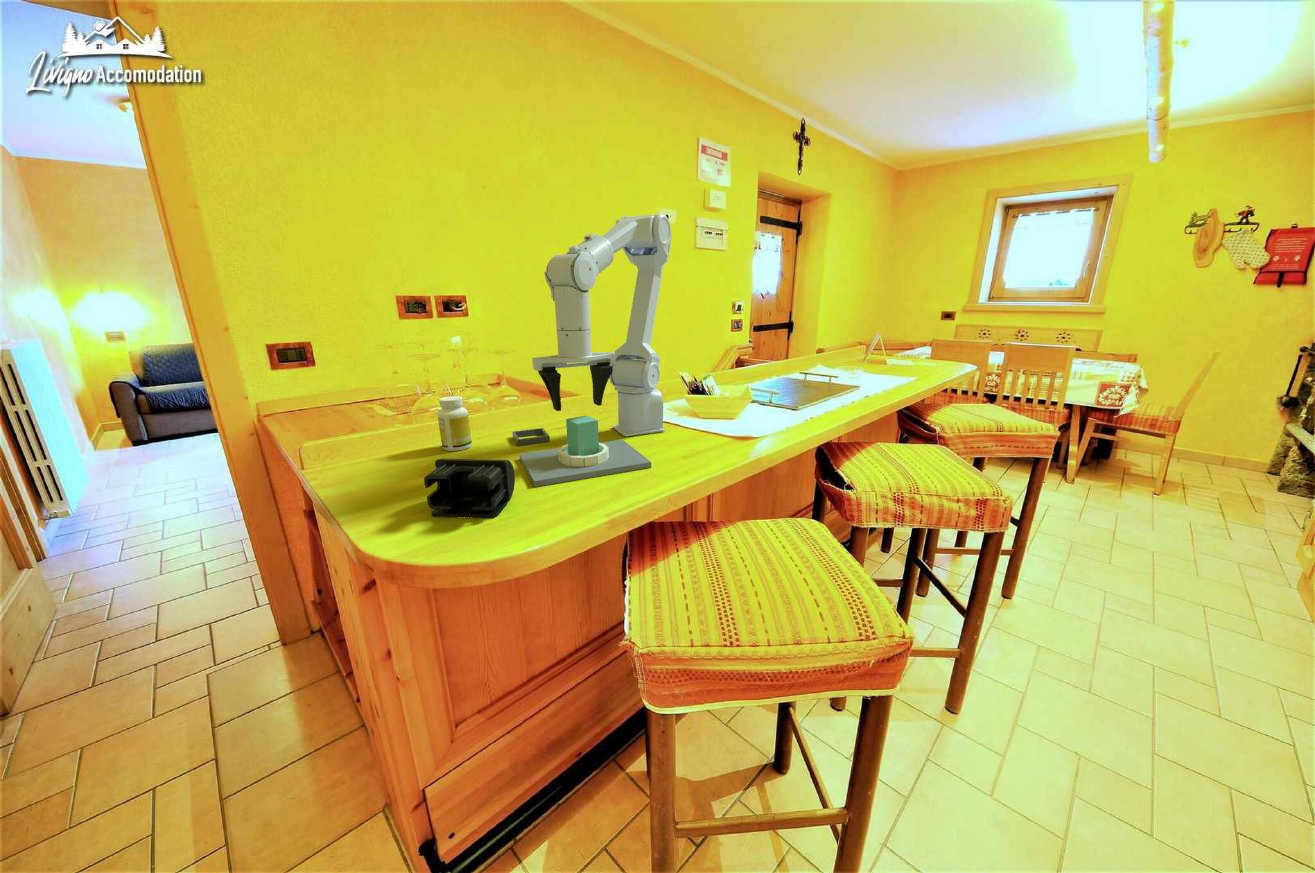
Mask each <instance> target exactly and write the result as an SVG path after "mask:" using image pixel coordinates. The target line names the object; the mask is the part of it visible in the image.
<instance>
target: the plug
mask: <svg viewBox="0 0 1315 873" xmlns="http://www.w3.org/2000/svg"><path fill="white" fill-rule="evenodd" d="M565 421H566V422H565V423H566V438H567V444H568V455H572V456H588V455H594V454H597V453H599V443H600V441H599V440H600V439H599V438H600V437H599V420H598V419H596V418H594V417H592V416H589V415H581V416H575V417H569V418H566V419H565Z"/></svg>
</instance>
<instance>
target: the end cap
mask: <svg viewBox="0 0 1315 873" xmlns="http://www.w3.org/2000/svg"><path fill="white" fill-rule="evenodd" d="M434 463H435V469H433V470H432V471H431V472H429V473H428V474H427V475H425V476H424V477H423V485H424V488H426V489H429V488H430V487H431V486H433V485H434V484H435V483H436V484H437V486H436V489H435V490H433V491H432V492H431V493H429V494H428V495H427V496H426V501H427V505H428V507H429V508H430V509H432V510H431V517H432V518H433V517H434V518H457V517H465V519H495V517H496V518H497V517H498V516H499V515H500V514H501V513H502V512H503V511H504V509H505V508H506V507H507V506H508V503H509V502H510V501H511V499H512V497H513V494H514V491H515V483H516V480H515V479H516V478H515V476H516V475H515V474H516V473H515V470H514V469H515V468H514V465H513V463H512V462H511V461H510V460H508V459H484V458H483V459H476V458H474V459H471V458H469V459H468V458H438V459H436V460H435V461H434ZM466 517H467V518H466ZM468 517H469V518H468ZM471 517H472V518H471Z"/></svg>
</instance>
